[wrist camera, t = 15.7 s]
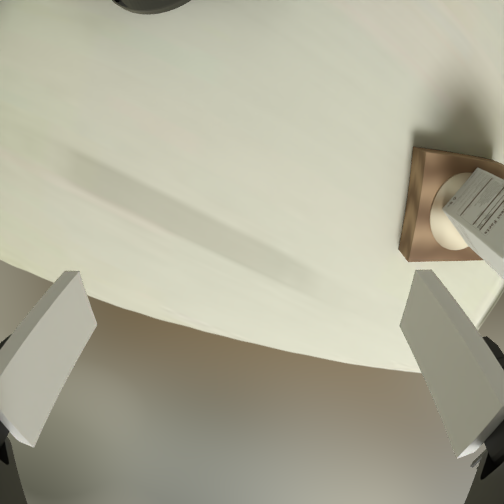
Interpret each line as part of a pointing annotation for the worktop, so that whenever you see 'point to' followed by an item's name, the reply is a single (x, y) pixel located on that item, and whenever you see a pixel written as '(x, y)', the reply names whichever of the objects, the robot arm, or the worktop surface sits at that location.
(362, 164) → the worktop surface
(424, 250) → the pedestal
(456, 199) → the supplement box
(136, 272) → the worktop surface
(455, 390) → the robot arm
